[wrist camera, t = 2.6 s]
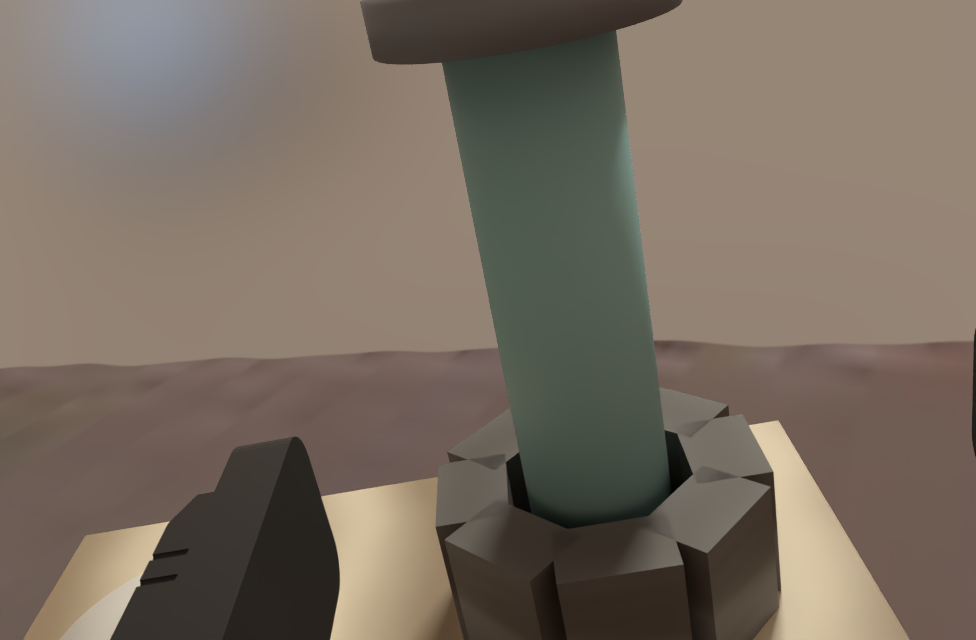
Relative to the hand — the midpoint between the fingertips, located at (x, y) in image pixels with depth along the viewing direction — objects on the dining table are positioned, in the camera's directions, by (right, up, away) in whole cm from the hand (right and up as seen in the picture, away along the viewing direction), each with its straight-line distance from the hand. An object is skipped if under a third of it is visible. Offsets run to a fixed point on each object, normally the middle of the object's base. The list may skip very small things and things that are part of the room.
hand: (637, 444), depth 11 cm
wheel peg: (+2, -6, +16) cm, 18 cm away
